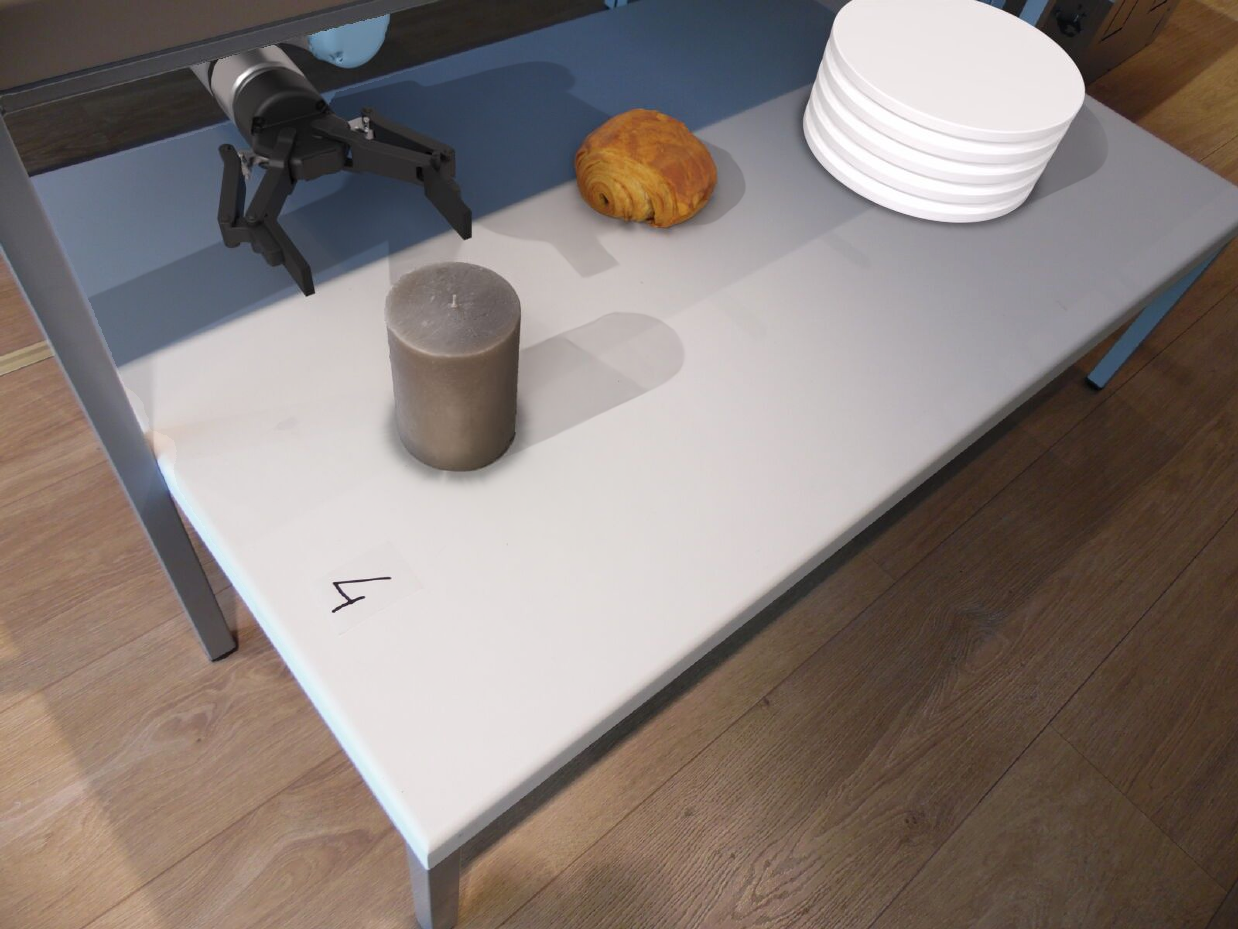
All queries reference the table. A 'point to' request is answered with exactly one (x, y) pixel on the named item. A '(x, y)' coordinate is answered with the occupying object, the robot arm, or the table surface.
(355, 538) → the table surface
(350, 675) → the table surface
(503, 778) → the table surface
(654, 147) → the croissant
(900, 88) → the plate stack
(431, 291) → the pillar candle
